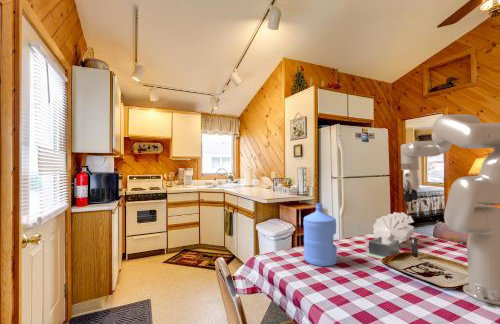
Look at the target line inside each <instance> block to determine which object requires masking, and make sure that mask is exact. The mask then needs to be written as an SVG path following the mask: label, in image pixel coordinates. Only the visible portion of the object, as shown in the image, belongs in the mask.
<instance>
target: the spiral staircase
mask: <svg viewBox="0 0 500 324" xmlns="http://www.w3.org/2000/svg"><path fill="white" fill-rule="evenodd" d="M414 222H415V221H414V219H413V217H412V216H411V215H407V214H406V213H405V212H403V211H401V212H395V211H393V213H387V215H382V216H380V217H379V218H376V219H375V222H374V224H373V225H372V227H373V231H372V233H373V235H374V239H375V238H377V237H382V243H383V244H390V243H392V242H393V241H395V240H399V245H402V243H403V242H407V241H408V240H410V238H411V237H413V236H414V235H415V233H414V229H415V226H413V225H411V224H412V223H414Z"/></svg>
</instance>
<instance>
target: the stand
mask: <svg viewBox="0 0 500 324" xmlns="http://www.w3.org/2000/svg"><path fill="white" fill-rule="evenodd" d="M410 238H411V240H410V241H411V255H412V256H413V258H420V259H421V256H419V244H418V237H413V236H411V237H410ZM418 256H419V257H418Z"/></svg>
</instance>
